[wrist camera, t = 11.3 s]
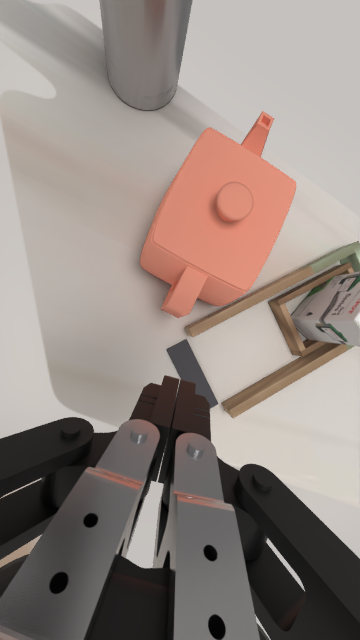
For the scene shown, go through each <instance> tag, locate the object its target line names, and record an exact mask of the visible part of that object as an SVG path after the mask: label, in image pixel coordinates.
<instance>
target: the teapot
mask: <svg viewBox="0 0 360 640" xmlns="http://www.w3.org/2000/svg"><path fill="white" fill-rule="evenodd" d="M273 120H274V118H272V117H271V116H269V115H268V114H266V113H265V112H263V111H262V113H261V115H260V116H259V118H258V119H257V121H256V122H255V124H254V125H253V127H252V129H251V130H250V132H249V133H248V134H247V136H246V137H245V139H244V141H243V142H242V144H241V145H240V144H238V143H237V142H235V141H233V140H231V139H230V138H228V137H226V136H225V135H223V134H221V133H220V132H218V131H216V130H214V129H212V128H210V127H209V128H207V129H206V130H205V131H204V132H203V133H202V134H201V136H200V137H199V139H198V140H197V142H196V143H195V145H194V146H193V148H192V150H191V151H190V153H189V155H188V156H187V158H186V160H185V161H184V163H183V165H182V166H181V168H180V170H179V171H178V173H177V175H176V176H175V178H174V180H173V181H172V183H171V185H170V187H169V188H168V190H167V192H166V194H165V196H164V198H163V200H162V202H161V204H160V206H159V208H158V210H157V213H156V215H155V217H154V220H153V222H152V225H151V227H150V230H149V233H148V235H147V238H146V241H145V243H144V246H143V249H142V253H141V257H140V265H141V267H142V268H143V269H145V270H146V271H148V272H149V273H151V274H153V275H154V276H156V277H158V278H160V279H161V280H163V281H165V282H167V283H169V284H171V285H172V286H171V288H170V290H169V292H168V295H167V297H166V299H165V301H164V303H163V306H162V308H161V310H163V311H165V312H167V313H169V314H171V315H173V316H175V317H177V318H180V317H182V316H185V315H188V314H189V313H190V311H191V309H192V307H193V305H194V303H195V301H196V299H197V298H198V299H201V300H203V301H205V302H207V303H210V304H212V305H215V306H223V305H226V304H229V303H231V302H233V301H234V300H236V299H237V298H239V297H240V296H242V295H243V294H244V293H246V292H247V291H248V290H249V289H250V288H251V286H252V285H253V283H254V282H255V280H256V278H257V276H258V275H259V273H260V271H261V269H262V267H263V265H264V263H265V261H266V259H267V258H268V256H269V254H270V252H271V249H272V247H273V245H274V243H275V241H276V239H277V237H278V235H279V232H280V230H281V228H282V225H283V223H284V220H285V218H286V216H287V213H288V211H289V208H290V205H291V203H292V200H293V197H294V194H295V190H296V182H295V181H294V180H293V179H291V178H290V177H289V176H287V175H286V174H284V173H283V172H281V171H280V170H279V169H277V168H276V167H274V166H273V165H271V164H270V163H268V162H267V161H265V160H264V159H262V158H261V154H262V151H263V148H264V145H265V142H266V139H267V136H268V133H269V130H270V128H271V125H272V123H273Z"/></svg>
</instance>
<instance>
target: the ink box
mask: <svg viewBox="0 0 360 640" xmlns="http://www.w3.org/2000/svg"><path fill="white" fill-rule="evenodd" d="M291 318H292V320H293V323H294V325H295V327H296V328H297V329H298V330H299V331H300V332H301V333H302V334H303V335H304V336H305V337H306V338H307V339H309V340H316V341H323V342H331V343H338V344H345V345H353V346H360V271H359V272H354V273H349V274H344V275H339V276H334V277H332V278H331V279H329V280H327V281H325V282H324V283H322V284H320V285H318V286H316V287H315V288H314V289H313V290H312V292H311V293H310V294H309V295H308V296H307V298H306V299H305V300H304V301H303V302H302V304H301V305H300V306H299V307H298V308H297V310H296V311H295V312H294V313H293V315H292V316H291Z"/></svg>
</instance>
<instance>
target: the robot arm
mask: <svg viewBox="0 0 360 640" xmlns="http://www.w3.org/2000/svg"><path fill="white" fill-rule="evenodd" d="M191 5H192V0H100V9H101V18H102V26H103V35H104V46H105V55H106V64H107V72H108V78H109V82H110V84H111V86H112V88H113V90H114V91H115V93H116V94H117V95H118V96H119V97H120V98H121V99H122V100H123V101H124V102H125V103H127V104H128V105H130V106H132V107H135V108H137V109H142V110H154V109H158V108H161V107H163V106H165V105H166V104H167V103H168V102H169V101H170V100H171V99H172V97H173V96H174V94H175V91H176V88H177V83H178V77H179V71H180V66H181V61H182V56H183V49H184V44H185V39H186V33H187V27H188V22H189V17H190V11H191ZM178 384H179V379H177V378H173V377H169V376H164V379H163V382H162V385H157V384H153V383H150V384H148V385H147V386H145V387H144V388H143V391H142V393H141V395H140V397H139V399H138V402H137V404H136V406H135V408H134V410H133V413H132V415H131V417H130V419H129V421H126V422H125V423H123V424H122V425H121V426H120V428H119V430H118V431H115V432H110V433H94V429H93V426H92V425H91V424H90V423H89V422H88V421H86V420H84V419H81V418H77V417H69V418H63V419H60V420H57V421H54V422H51V423H48V424H45V425H42V426H38V427H35V428H32V429H29V430H26V431H23V432H20V433H17V434H14V435H11V436H8V437H4V438H2V439H0V498H1V497H2V496H4V495H5V494H8V493H10V492H12V491H14V490H16V489H18V488H20V487H22V486H25V485H27V484H29V483H31V482H33V481H35V480H38V479H40V478H42V479H41V480H39V481H37V482H35V483H33V484H31V485H29V486H26V487H24V488H22V489H20V490H18V491H16V492H14V493H12V494H9V495H7V496H5V497H3V498H1V499H0V560H1V559H2V558H4V557H5V556H7V555H9V554H10V553H12V552H14V551H15V550H17V549H18V548H20V547H22V546H23V545H25V544H26V543H28V542H30V541H31V540H33V539H35V538H36V537H38V536H39V535H41V534H42V536H41V537H40V539H39V540H38V542H37V543H36V545H35V546H34V548H33V549H32V551H31V552H30V554H28V555H25V556H23V557H21V558H18V559H16V560H14V561H12V562H10V563H8V564H6V565H4V566H3V567H1V568H0V640H269V638H268V637H267V636H266V634H265V633H264V631H263V630H262V629H261V627H260V626H259V625H258V624H257V622H256V617H255V615H256V616H257V618H258V619H259V621H260V623H261V624H262V626H263V627H264V629H265V631H266V632H267V634H268V636H269V637H270V639H271V640H360V559H359V558H358V557H357V556H356V555H355V554H354V553H353V552H352V551H351V550H350V549H349V548H348V547H347V546H346V545H345V544H344V543H343V542H342V541H341V540H340V539H339V538H338V537H337V536H336V535H335V534H334V533H333V532H332V531H331V530H330V529H329V528H328V527H327V526H326V525H325V524H324V523H323V522H322V521H321V520H320V519H319V518H318V517H317V516H316V515H315V514H314V513H313V512H312V511H311V510H310V509H309V508H308V507H307V506H306V505H305V504H304V503H303V502H302V501H301V500H300V499H298V497H297V496H296V495H295V494H293V492H292V491H290V489H289V488H287V486H285V485H284V484H283V483H282V482H281V481H280V480H279V479H278V478H277V477H276V476H275V475H274V474H273V473H272V472H271V471H269V470H268V469H266V468H264V467H262V466H259V465H256V464H247V465H244V466H243V467H242V468H241V469H240V471H238V470H237V469H235V468H233V467H231V466H229V465H228V464H226V463H224V462H223V461H222V460H221V459H219V458H218V456H217V454H216V449H215V447H214V445H213V444H212V443H211V432H210V413H209V412H210V405H209V402H208V401H207V399H206V398H205V396H201V395H197V394H195V390H196V383H193V382H189V381H185V380H180V384H179V388H178ZM177 389H178V392H177ZM176 394H177V396H176ZM175 399H176V400H175ZM164 449H165V450H164ZM163 453H164V456H163ZM162 457H163V460H162ZM161 461H162V465H161V470H160V475H159V480H158V482H159V483H163V484H164V487H163V492H162V496H161V500H160V504H159V511H158V520H157V530H156V541H155V550H154V560H153V568H147V569H146V568H141V567H139V566H137V565H135V564H134V563H132V562H131V561H129V560H128V559H126V555H127V552H128V549H129V546H130V543H131V540H132V537H133V534H134V531H135V528H136V524H137V521H138V518H139V515H140V512H141V509H142V506H143V503H144V500H145V496H146V495H147V493H148V491H149V487H150V483H151V481H155V482H156V480H157V477H158V473H159V469H160V464H161ZM267 538H269V540H270V541H271V542H272V543H273V545H274V546H275V547H276V549H277V550H278V551H279V552H280V554H281V555H282V556H283V557H284V559H285V560H286V561H287V562H288V564H289V565H290V566H291V567H292V569H293V570H294V571H295V572H296V574H297V575H298V576H299V578H300V580H301V582H302V584H303V586H304V589H305V591H304V590H303V589H302V588H301V586H300V585H299V584H298V583H297V581H296V580H295V579H294V578H293V576H292V575H291V574H290V573H289V571H288V570H287V569H286V567H285V566H284V565H283V563H282V562H281V561H280V560H279V558H278V557H277V556H276V555H275V553H274V552H273V551H272V549H271V548H270V547H269V546H268V544H267V543H266V541H267Z"/></svg>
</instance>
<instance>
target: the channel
mask: <svg viewBox="0 0 360 640" xmlns="http://www.w3.org/2000/svg"><path fill="white" fill-rule="evenodd" d="M339 260H340V262H341V264H345V263H349V262H350V263H351V266H352V268H353V270H354V272H359V271H360V244H359V241H357V242H354V243H352V244H349V245H346V246H343V247H341V248H339V249H337V250H335V251H333V252H331V253H329V254H327V255H325V256H323V257H321V258H319V259H317V260H315V261H314V262H312V263H310V264H308V265H306V266H304V267H302V268H300V269H298V270H296V271H294V272H292V273H290V274H288V275H286V276H284V277H282V278H280V279H279V280H277V281H275V282H273V283H271V284H269V285H267V286H265V287H263V288H261V289H259V290H257V291H255V292H253V293H251V294H249V295H247V296H245V297H244V298H242V299H240V300H238V301H236V302H234V303H232V304H230V305H228V306H226V307H224V308H222V309H220V310H218V311H216V312H214V313H212V314H210V315H209V316H207V317H205V318H203V319H201V320H199V321H197V322H195V323H193V324H191V325H189V326H187V327H185V330H186V332H187V334H188V336H191V337H194V336H196V335H198V334H200V333H202V332H204V331H206V330H208V329H209V328H211V327H213V326H215V325H217V324H219V323H221V322H223V321H225V320H227V319H229V318H230V317H232V316H234V315H236V314H238V313H240V312H242V311H244V310H246V309H248V308H250V307H252V306H253V305H255V304H257V303H259V302H261V301H263V300H265V299H267V298H269V297H271V296H273V295H274V294H276V293H278V292H280V291H282V290H284V289H286V288H288V287H290V286H292V285H294V284H295V283H297V282H299V281H301V280H303V279H305V278H307V277H309V276H311V275H313V274H315V273H316V272H318V271H320V270H322V269H324V268H326V267H328V266H330V265H332V264H334V263H336V262H337V261H339ZM352 347H354V346H353V345H345V344H338V343H331V342H328V343H326V344H324V345H322V346H321V347H319V348H317V349H316V350H314V351H312V352H310V353H309V354H307V355H305V356H303V357H300V358H298V359H296V360H295V361H293V362H291V363H290V364H288V365H286V366H284V367H283V368H281V369H279V370H277V371H276V372H274V373H272V374H271V375H269V376H267V377H265V378H264V379H262V380H260V381H259V382H257V383H255V384H253V385H252V386H250V387H248V388H246V389H245V390H243V391H241V392H240V393H238V394H236V395H234V396H233V397H231V398H229V399H227V400H226V401H224V402H222V405H223V407H224V409H225V411H226V412H227V413H228V414H229V415H230V416H231V417H232V418H235V417H236V416H238V415H240V414H241V413H243V412H245V411H246V410H248V409H250V408H251V407H253V406H255V405H256V404H258V403H260V402H261V401H263V400H265V399H267V398H268V397H270V396H272V395H273V394H275V393H277V392H278V391H280V390H282V389H283V388H285V387H287V386H288V385H290V384H292V383H293V382H295V381H297V380H298V379H300V378H302V377H303V376H305V375H307V374H309V373H310V372H312V371H314V370H315V369H317V368H319V367H320V366H322V365H324V364H325V363H327V362H329V361H330V360H332V359H334V358H335V357H337V356H339V355H340V354H342V353H344V352H346V351H347V350H349V349H351V348H352Z"/></svg>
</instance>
